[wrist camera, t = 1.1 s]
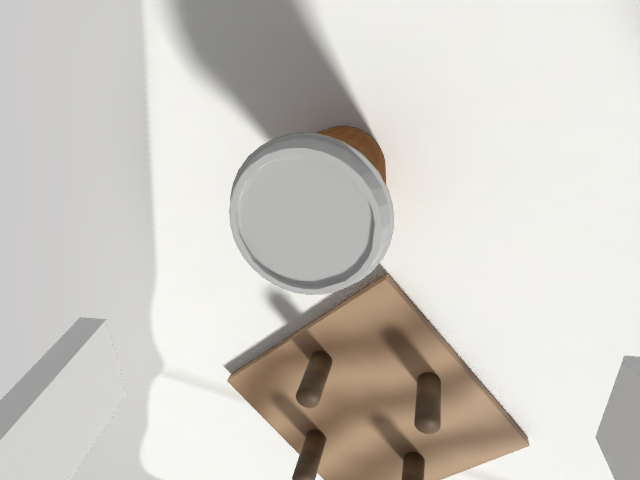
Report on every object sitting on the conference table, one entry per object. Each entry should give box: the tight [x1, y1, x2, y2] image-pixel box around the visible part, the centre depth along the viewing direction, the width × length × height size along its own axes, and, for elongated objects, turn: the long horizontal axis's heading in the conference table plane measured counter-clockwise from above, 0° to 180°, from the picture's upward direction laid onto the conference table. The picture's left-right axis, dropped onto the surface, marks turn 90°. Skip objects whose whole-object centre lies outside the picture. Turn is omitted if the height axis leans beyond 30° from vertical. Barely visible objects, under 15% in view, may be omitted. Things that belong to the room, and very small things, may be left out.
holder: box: [227, 274, 529, 480], centre depth 42 cm, size 20×20×6 cm
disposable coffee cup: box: [229, 126, 394, 295], centre depth 31 cm, size 10×10×12 cm
